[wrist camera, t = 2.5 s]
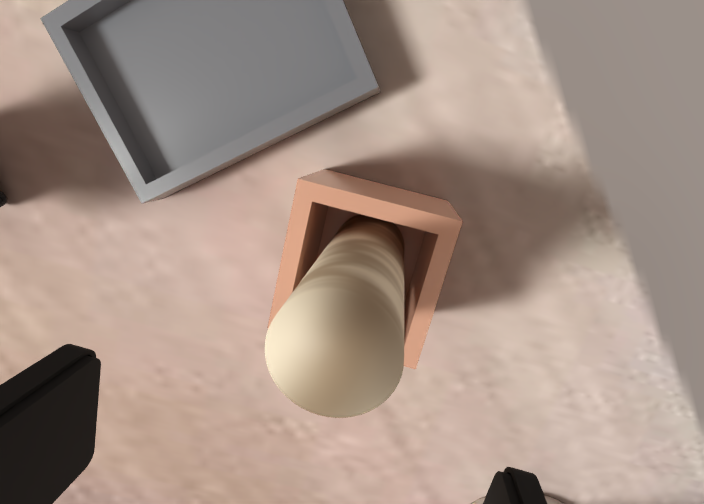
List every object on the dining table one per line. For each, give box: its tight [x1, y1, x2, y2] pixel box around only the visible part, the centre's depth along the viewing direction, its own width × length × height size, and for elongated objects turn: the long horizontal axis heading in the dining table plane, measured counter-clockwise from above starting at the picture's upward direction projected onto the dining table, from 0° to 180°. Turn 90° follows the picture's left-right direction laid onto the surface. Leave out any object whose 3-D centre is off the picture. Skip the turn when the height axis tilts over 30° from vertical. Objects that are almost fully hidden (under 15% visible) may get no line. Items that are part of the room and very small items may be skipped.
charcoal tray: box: [41, 0, 381, 203], centre depth 28 cm, size 18×13×3 cm
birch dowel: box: [265, 214, 404, 418], centre depth 23 cm, size 5×5×16 cm
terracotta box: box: [268, 169, 463, 369], centre depth 28 cm, size 9×9×8 cm
